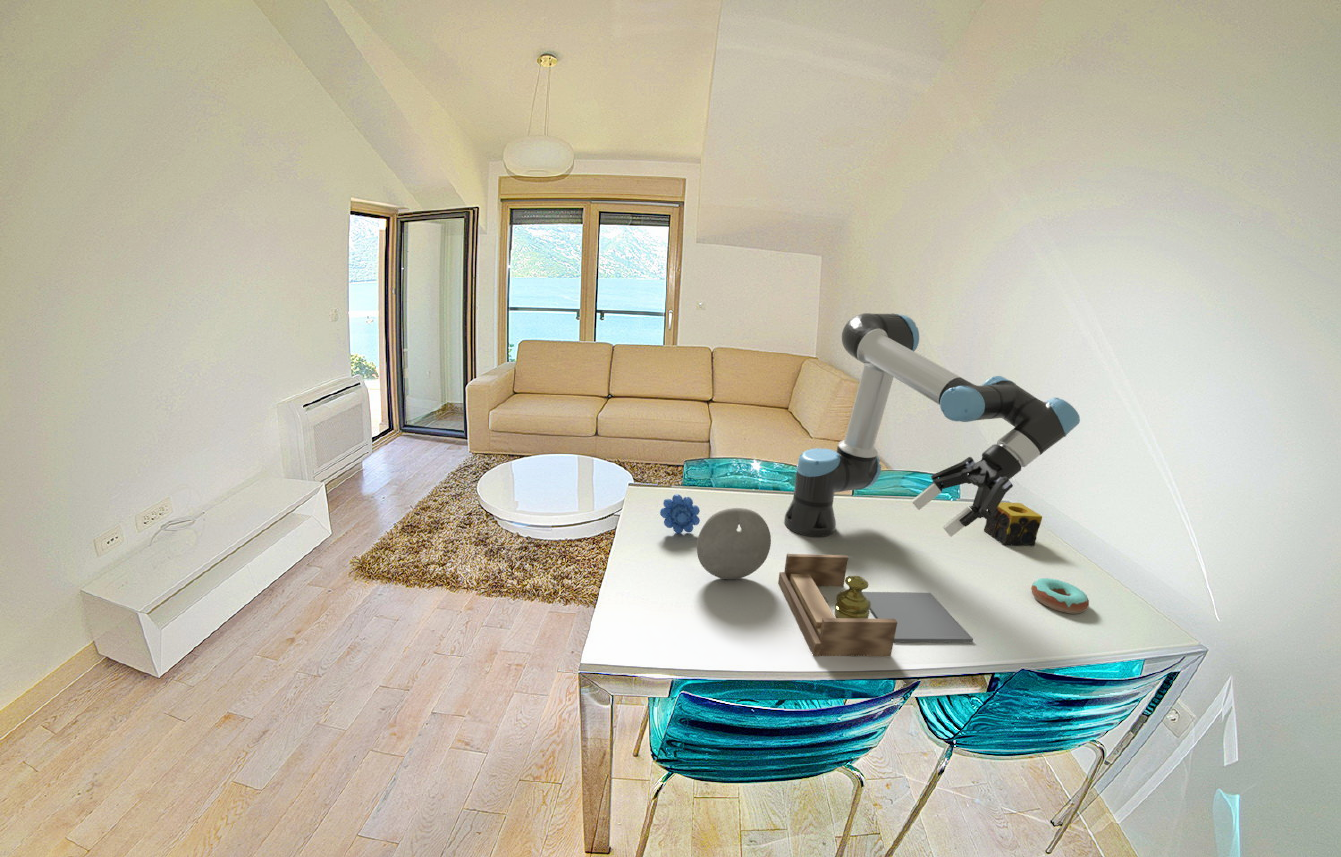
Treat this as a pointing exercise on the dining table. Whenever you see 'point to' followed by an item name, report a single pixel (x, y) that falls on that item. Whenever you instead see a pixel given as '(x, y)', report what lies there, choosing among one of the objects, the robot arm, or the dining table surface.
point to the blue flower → (680, 514)
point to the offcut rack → (818, 618)
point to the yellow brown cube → (1014, 524)
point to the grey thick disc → (733, 543)
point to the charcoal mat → (917, 617)
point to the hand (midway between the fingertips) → (929, 518)
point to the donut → (1060, 595)
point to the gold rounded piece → (853, 599)
